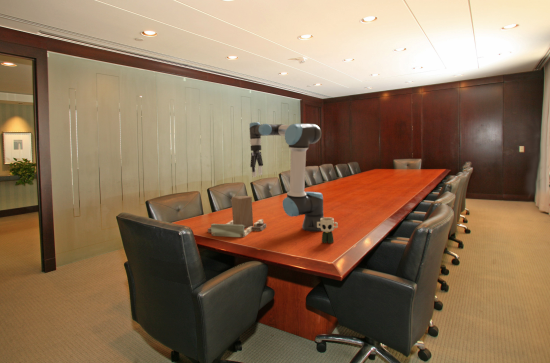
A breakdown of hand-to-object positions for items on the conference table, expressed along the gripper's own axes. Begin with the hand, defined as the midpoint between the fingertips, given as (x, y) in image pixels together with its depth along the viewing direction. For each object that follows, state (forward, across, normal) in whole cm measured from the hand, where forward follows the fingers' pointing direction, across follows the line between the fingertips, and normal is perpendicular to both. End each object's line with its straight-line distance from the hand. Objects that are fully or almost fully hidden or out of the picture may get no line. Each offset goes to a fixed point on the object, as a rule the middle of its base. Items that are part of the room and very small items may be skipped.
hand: (257, 175), depth 217 cm
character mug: (+32, +43, +54) cm, 77 cm away
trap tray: (+32, +24, -6) cm, 41 cm away
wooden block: (+32, +17, -6) cm, 37 cm away
